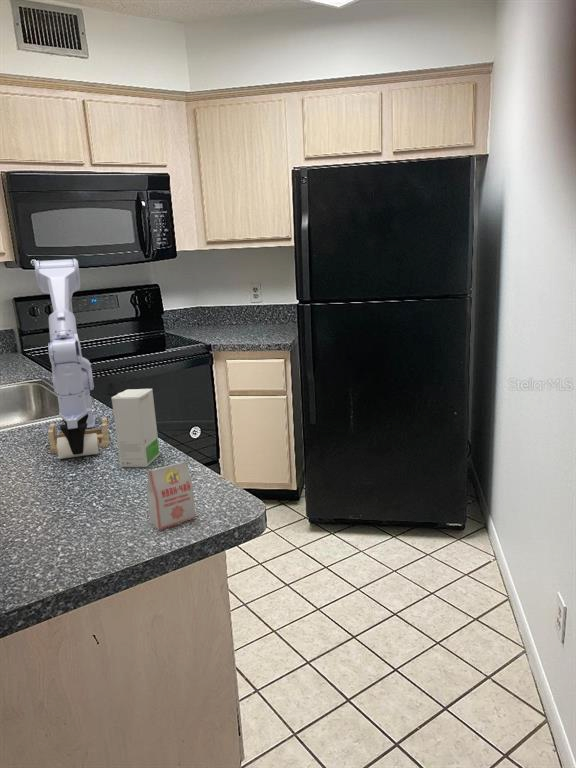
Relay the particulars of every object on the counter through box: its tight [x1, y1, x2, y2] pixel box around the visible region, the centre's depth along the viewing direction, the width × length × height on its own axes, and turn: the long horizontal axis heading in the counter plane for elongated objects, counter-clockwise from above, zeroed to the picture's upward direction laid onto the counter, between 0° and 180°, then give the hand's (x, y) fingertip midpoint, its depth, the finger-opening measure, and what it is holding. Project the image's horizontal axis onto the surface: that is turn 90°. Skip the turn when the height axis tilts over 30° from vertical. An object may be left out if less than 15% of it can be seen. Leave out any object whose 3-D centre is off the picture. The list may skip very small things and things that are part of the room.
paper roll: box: [57, 433, 100, 460], centre depth 137 cm, size 9×5×5 cm, turn 106°
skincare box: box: [111, 388, 161, 468], centre depth 130 cm, size 8×7×16 cm
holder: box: [47, 416, 110, 454], centre depth 144 cm, size 8×13×5 cm, turn 106°
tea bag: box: [146, 461, 197, 531], centre depth 102 cm, size 4×7×10 cm, turn 124°
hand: (78, 450), depth 137 cm, fingers closed on paper roll, 5 cm apart
